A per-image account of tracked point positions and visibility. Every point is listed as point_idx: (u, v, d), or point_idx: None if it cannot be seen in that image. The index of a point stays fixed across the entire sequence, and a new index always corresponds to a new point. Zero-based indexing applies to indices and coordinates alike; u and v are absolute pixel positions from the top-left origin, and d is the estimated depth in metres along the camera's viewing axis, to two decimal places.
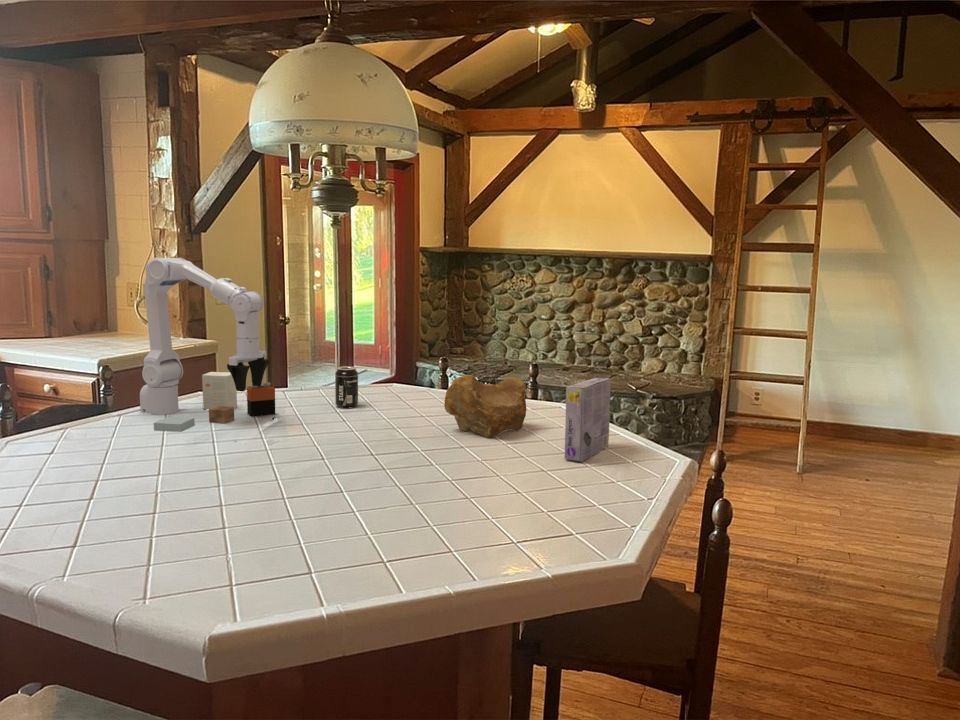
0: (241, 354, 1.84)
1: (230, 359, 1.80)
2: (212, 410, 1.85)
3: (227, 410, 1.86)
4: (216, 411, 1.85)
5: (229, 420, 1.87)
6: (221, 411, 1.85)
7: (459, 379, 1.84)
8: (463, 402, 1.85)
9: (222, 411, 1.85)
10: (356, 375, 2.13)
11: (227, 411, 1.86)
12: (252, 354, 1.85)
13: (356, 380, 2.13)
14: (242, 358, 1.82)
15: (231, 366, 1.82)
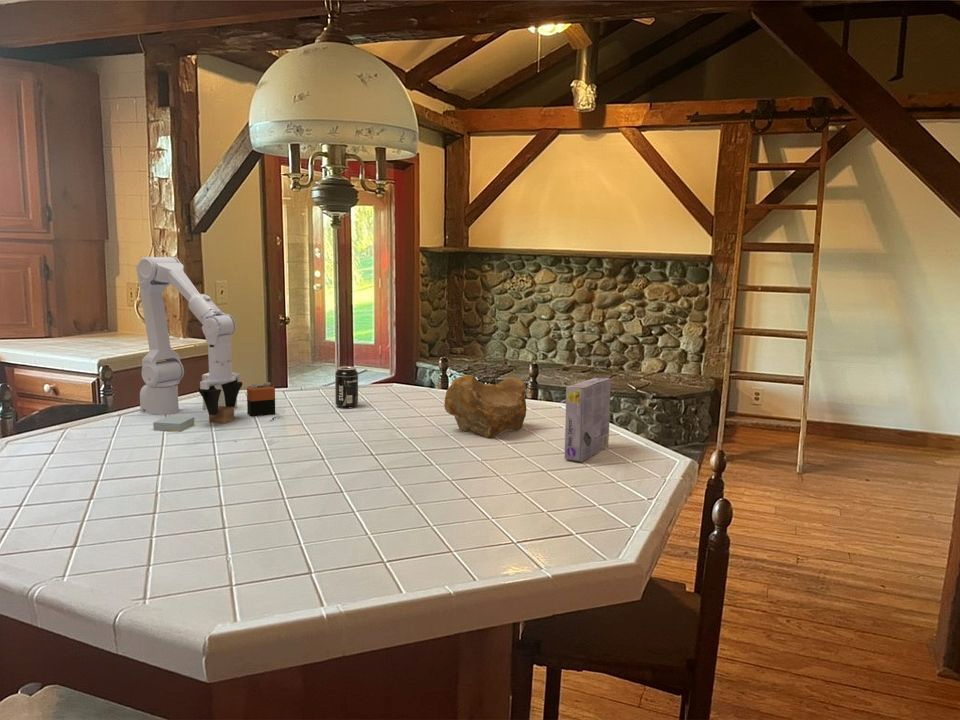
0: (213, 377, 1.83)
1: (201, 383, 1.79)
2: None
3: (227, 410, 1.86)
4: None
5: (229, 420, 1.87)
6: (221, 411, 1.85)
7: (459, 379, 1.84)
8: (463, 402, 1.85)
9: (222, 411, 1.85)
10: (356, 375, 2.13)
11: (227, 411, 1.86)
12: (224, 377, 1.84)
13: (356, 380, 2.13)
14: (213, 382, 1.81)
15: (202, 390, 1.81)
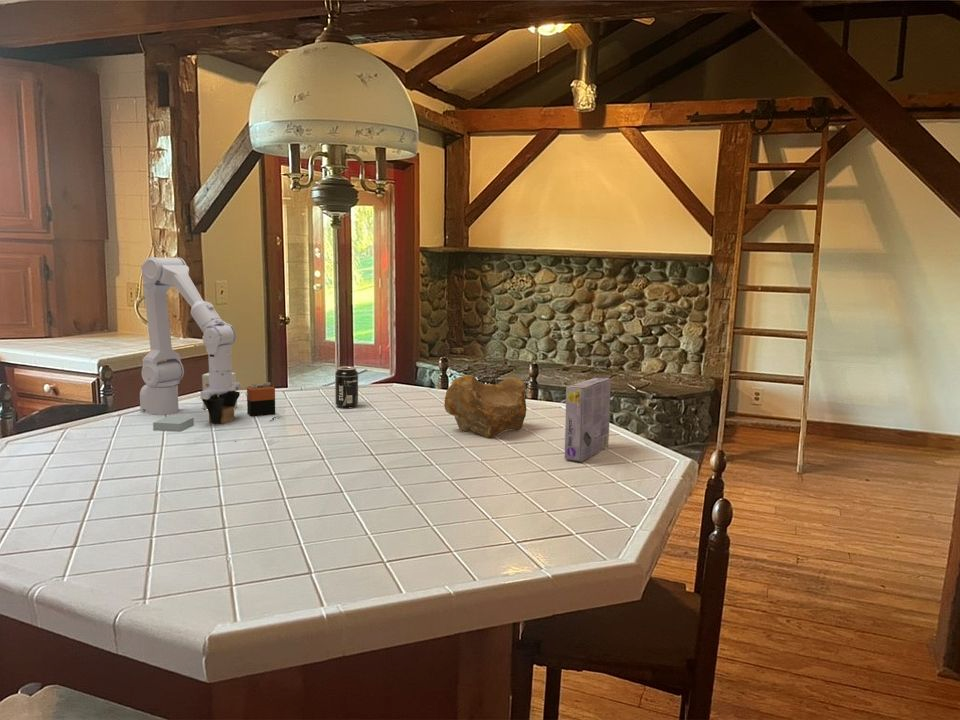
0: (213, 387, 1.84)
1: (201, 393, 1.80)
2: None
3: (227, 410, 1.86)
4: None
5: (229, 420, 1.87)
6: (221, 411, 1.85)
7: (459, 379, 1.84)
8: (463, 402, 1.85)
9: (222, 411, 1.85)
10: (356, 375, 2.13)
11: (227, 411, 1.86)
12: (224, 387, 1.84)
13: (356, 380, 2.13)
14: (214, 392, 1.81)
15: (206, 399, 1.82)
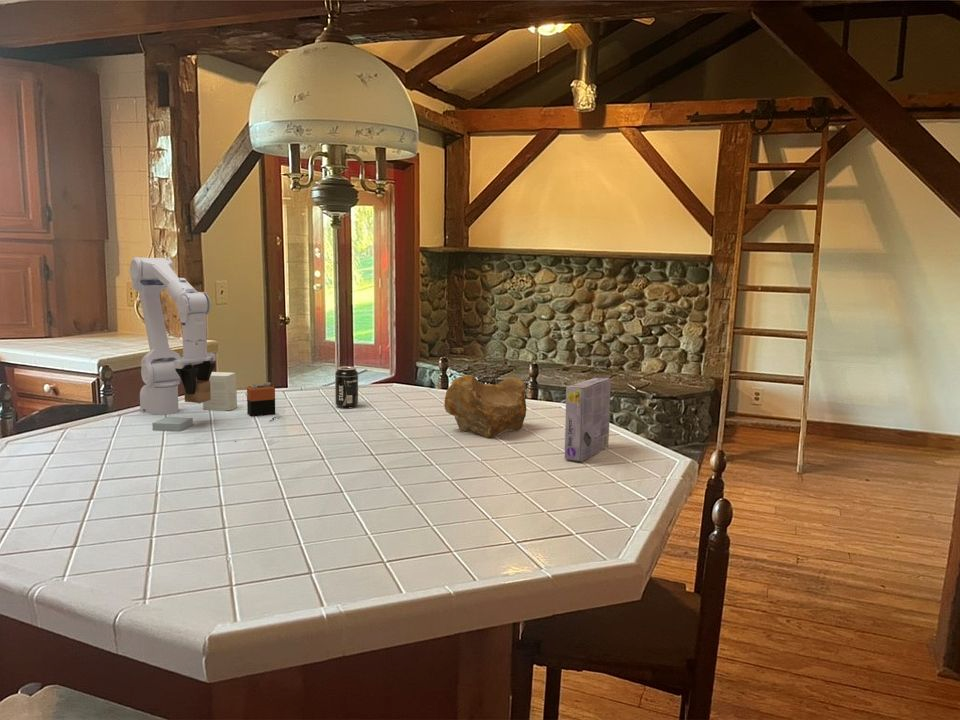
0: (187, 357, 1.78)
1: (175, 362, 1.74)
2: None
3: (203, 384, 1.81)
4: None
5: (205, 394, 1.82)
6: (197, 385, 1.79)
7: (459, 379, 1.84)
8: (463, 402, 1.85)
9: (198, 385, 1.79)
10: (356, 375, 2.13)
11: (203, 385, 1.81)
12: (198, 357, 1.79)
13: (356, 380, 2.13)
14: (187, 361, 1.76)
15: (179, 368, 1.77)
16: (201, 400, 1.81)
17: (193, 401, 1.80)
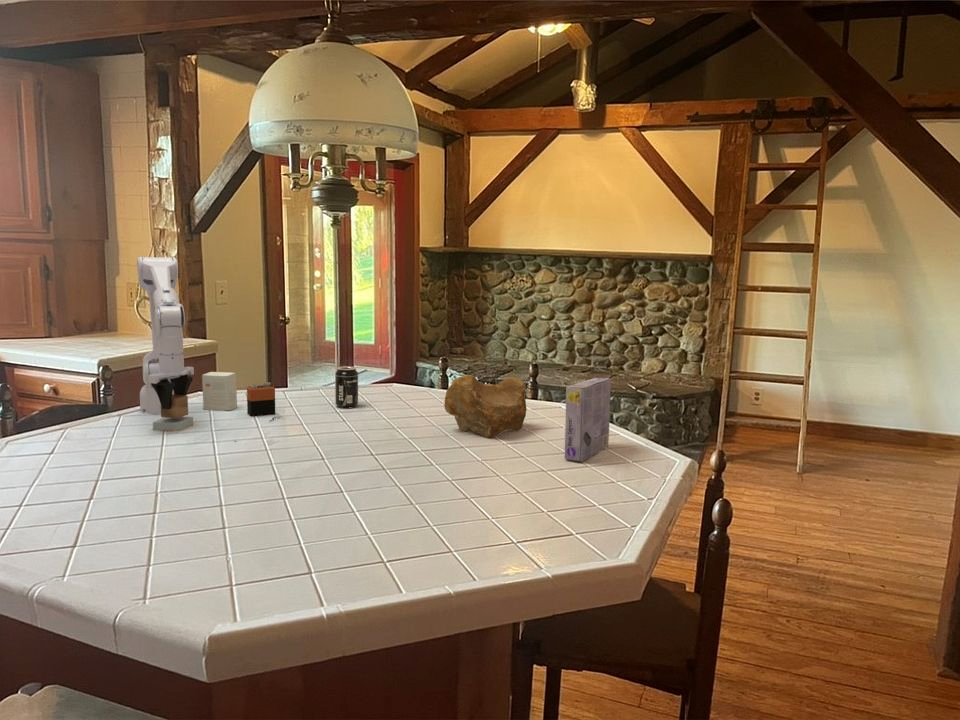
0: (163, 371, 1.75)
1: (149, 377, 1.71)
2: None
3: (180, 399, 1.78)
4: None
5: (182, 409, 1.79)
6: (173, 400, 1.76)
7: (459, 379, 1.84)
8: (463, 402, 1.85)
9: (174, 400, 1.76)
10: (356, 375, 2.13)
11: (180, 400, 1.78)
12: (175, 371, 1.75)
13: (356, 380, 2.13)
14: (163, 375, 1.73)
15: (155, 383, 1.74)
16: (178, 415, 1.77)
17: (169, 416, 1.77)
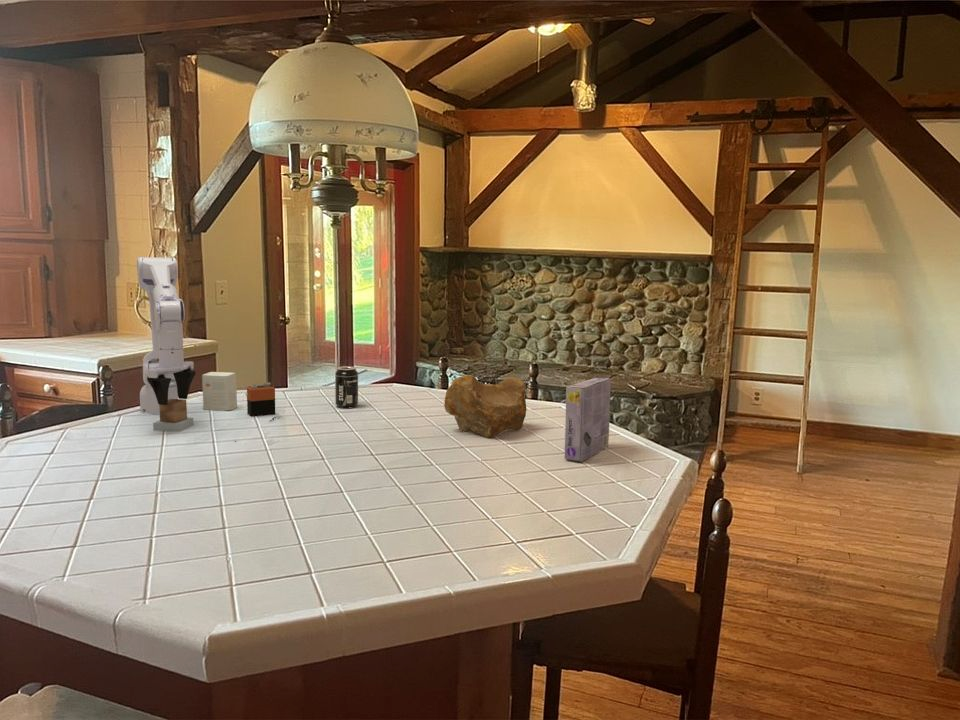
0: (163, 366, 1.75)
1: (149, 371, 1.71)
2: None
3: (179, 403, 1.78)
4: (167, 404, 1.77)
5: (181, 413, 1.79)
6: (172, 404, 1.76)
7: (459, 379, 1.84)
8: (463, 402, 1.85)
9: (173, 404, 1.76)
10: (356, 375, 2.13)
11: (179, 404, 1.78)
12: (174, 366, 1.75)
13: (356, 380, 2.13)
14: (163, 370, 1.73)
15: (151, 379, 1.72)
16: (177, 420, 1.77)
17: (168, 421, 1.77)
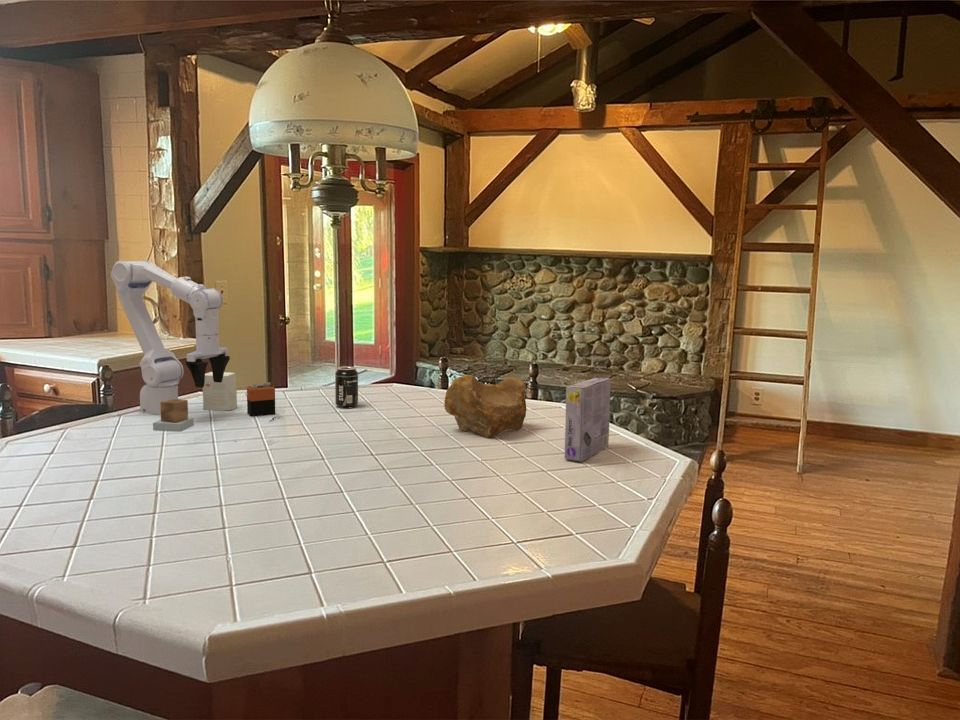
0: (200, 350, 1.86)
1: (188, 355, 1.82)
2: (164, 403, 1.77)
3: (179, 403, 1.78)
4: (168, 404, 1.77)
5: (182, 414, 1.79)
6: (173, 404, 1.76)
7: (459, 379, 1.84)
8: (463, 402, 1.85)
9: (174, 404, 1.76)
10: (356, 375, 2.13)
11: (179, 404, 1.78)
12: (211, 350, 1.86)
13: (356, 380, 2.13)
14: (200, 354, 1.84)
15: (189, 362, 1.84)
16: (177, 420, 1.77)
17: (169, 421, 1.77)
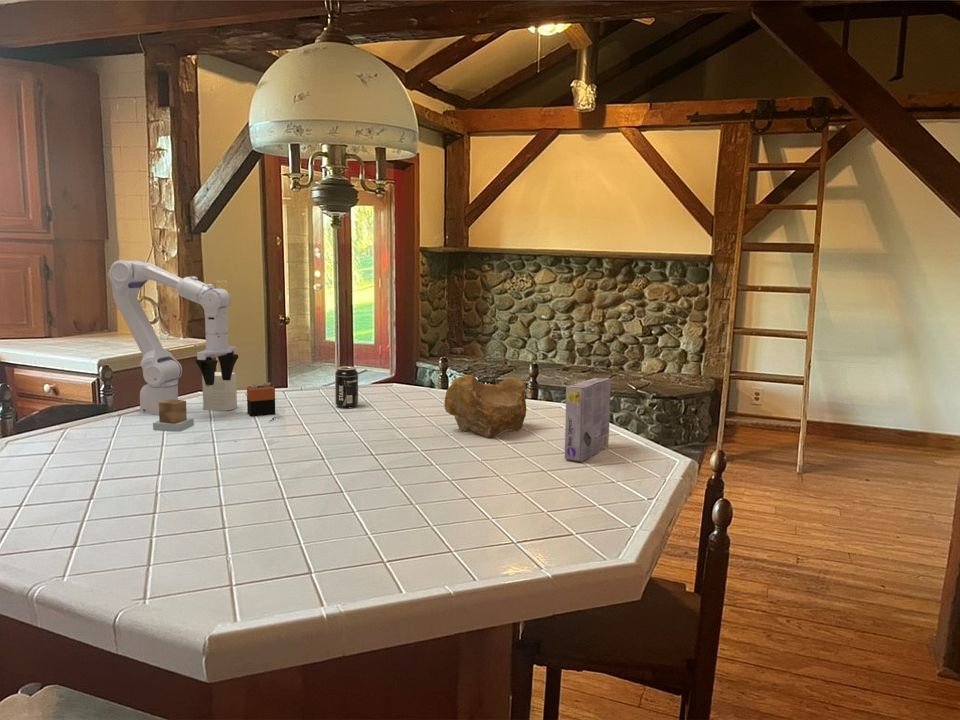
0: (210, 349, 1.89)
1: (198, 354, 1.85)
2: (162, 403, 1.77)
3: (178, 404, 1.77)
4: (166, 404, 1.76)
5: (180, 414, 1.78)
6: (171, 405, 1.76)
7: (459, 379, 1.84)
8: (463, 402, 1.85)
9: (172, 405, 1.76)
10: (356, 375, 2.13)
11: (178, 405, 1.77)
12: (220, 349, 1.90)
13: (356, 380, 2.13)
14: (210, 353, 1.87)
15: (199, 361, 1.87)
16: (175, 420, 1.77)
17: (167, 421, 1.77)
